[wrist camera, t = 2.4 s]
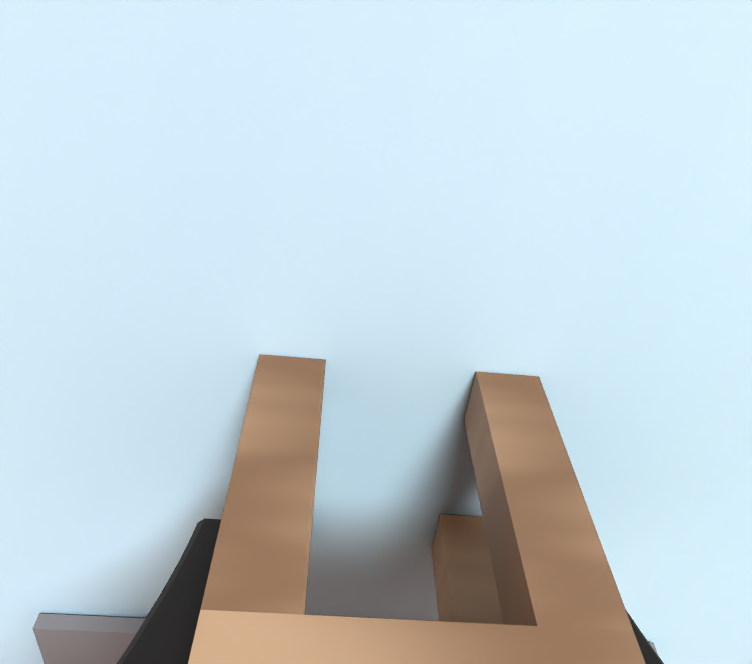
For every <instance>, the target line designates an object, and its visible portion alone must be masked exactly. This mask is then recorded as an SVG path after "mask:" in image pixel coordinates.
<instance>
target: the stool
mask: <svg viewBox="0 0 752 664" xmlns="http://www.w3.org/2000/svg"><path fill="white" fill-rule="evenodd" d="M325 363H326V360H322V359H310V358H297V357H285V356H272V355H259V359H258V363H257V368H256V372H255V376H254V381H253V385H252V389H251V394H250V398H249V402H248V407H247V411H246V415H245V420H244V424H243V428H242V433H241V437H240V441H239V445H238V450H237V454H236V458H235V463H234V467H233V471H232V476H231V480H230V484H229V489H228V493H227V497H226V502H225V506H224V510H223V515H222V519H221V523H220V528H219V532H218V536H217V541H216V545H215V549H214V553H213V558H212V562H211V566H210V571H209V575H208V579H207V584H206V588H205V592H204V597H203V601H202V605H201V610H200V614H199V618H198V623H197V627H196V631H195V636H194V640H193V644H192V648H191V653H190V657H189V661H188V664H646V663H645V661H644V658H643V655H642V653H641V650H640V647H639V645H638V642H637V639H636V637H635V634H634V631H633V628H632V626H631V623H630V620H629V618H628V615H627V612H626V610H625V607H624V604H623V602H622V599H621V596H620V593H619V591H618V588H617V585H616V583H615V580H614V577H613V575H612V572H611V569H610V566H609V564H608V561H607V558H606V556H605V553H604V550H603V548H602V545H601V542H600V540H599V537H598V534H597V531H596V529H595V526H594V523H593V521H592V518H591V515H590V513H589V510H588V507H587V505H586V502H585V499H584V496H583V494H582V491H581V488H580V486H579V483H578V480H577V478H576V475H575V472H574V470H573V467H572V464H571V461H570V459H569V456H568V453H567V451H566V448H565V445H564V443H563V440H562V437H561V434H560V432H559V429H558V426H557V424H556V421H555V418H554V416H553V413H552V410H551V408H550V405H549V402H548V399H547V397H546V394H545V391H544V389H543V386H542V383H541V381H540V378H539V377H537V376H524V375H511V374H499V373H486V372H476V375H475V378H474V382H473V386H472V390H471V394H470V398H469V402H468V406H467V410H466V414H465V418H464V422H465V427H466V432H467V437H468V443H469V448H470V453H471V458H472V463H473V468H474V473H475V479H476V484H477V489H478V494H479V499H480V504H481V509H482V515H483V517H476V516H459V515H443V514H440V517H439V521H438V525H437V529H436V533H435V537H434V541H433V545H432V557H433V567H434V576H435V586H436V595H437V605H438V614H439V621H422V620H402V619H382V618H361V617H341V616H320V615H305V603H306V591H307V579H308V567H309V555H310V543H311V531H312V519H313V507H314V495H315V483H316V471H317V459H318V447H319V435H320V423H321V411H322V399H323V387H324V375H325Z"/></svg>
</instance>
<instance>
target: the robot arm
mask: <svg viewBox="0 0 752 664" xmlns="http://www.w3.org/2000/svg"><path fill="white" fill-rule="evenodd" d="M220 523H221V520H218V519H203V520H202V521H200V522H198V524H197V526H196V528H195V530H194V532H193V535H192V537H191V539H190V541H189V543H188V545H187V547H186V549H185V551H184V553H183V555H182V557H181V559H180V561H179V563H178V564H177V566H176V568H175V570H174V572H173V574H172V575H171V577H170V579H169V581H168V582H167V584H166V586H165V587H164V589H163V591H162V593H161V594H160V596H159V598H158V600H157V601H156V603H155V604H154V606H153V608H152V609H151V611H150V612H149V614H148V616H147V617H146V619H145V620H144V622H143V624H142V625H141V627H140V628H139V630H138V632H137V633H136V635H135V636H134V638H133V640H132V641H131V643H130V644H129V646H128V647H127V649H126V650H125V652H124V653H123V655H122V656H121V658H120V659H119V661H118V662H117V663H116V664H188V661H189V657H190V653H191V648H192V644H193V640H194V636H195V631H196V627H197V623H198V618H199V614H200V610H201V605H202V601H203V597H204V592H205V588H206V584H207V579H208V575H209V571H210V566H211V562H212V558H213V553H214V549H215V545H216V541H217V536H218V532H219V528H220ZM625 610H626V609H625ZM626 612H627V611H626ZM627 615H628V618H629V620H630V623H631V626H632V628H633V631H634V634H635V637H636V639H637V642H638V645H639V647H640V650H641V653H642V655H643V658H644V661H645V663H646V664H664V663H663V662H662V660H661V659H660V658H659V656H658V655H657V653H656V652H655V651H654V649H653V648H652V647H651V645H650V644H649V642H648V641H647V640H646V638H645V637H644V635H643V634H642V632H641V631H640V630H639V628H638V627H637V625H636V624H635V622H634V621H633V619H632V618H631V617H630V615H629V614H628V612H627Z"/></svg>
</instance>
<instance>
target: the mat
mask: <svg viewBox="0 0 752 664" xmlns="http://www.w3.org/2000/svg"><path fill="white" fill-rule="evenodd" d="M145 619H146V618H127V617H106V616H85V615H64V614H43V613H40V614H39V616H38V618H37V620H36V622H35V624H34V627H33V631H34V634H35V637H36V640H37V643H38V646H39V649H40V652H41V654H42V657H43V660H44V663H45V664H116V663H117V662H118V661H119V659H120V658H121V656H122V655H123V653H124V652H125V650H126V649H127V647H128V646H129V644H130V643H131V641H132V640H133V638H134V636H135V635H136V633H137V632H138V630H139V628H140V627H141V625H142V624H143V622H144V620H145ZM649 644H650V645H651V647H652V648H653V649H654V651H655V652H656V653H657V651H656V649H655V646H654V643H653V642H649ZM657 655H658V654H657Z"/></svg>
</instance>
